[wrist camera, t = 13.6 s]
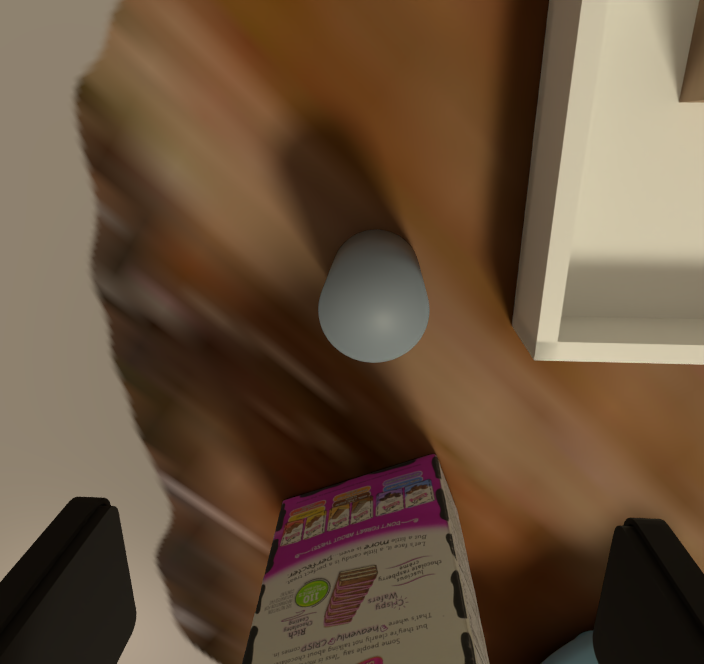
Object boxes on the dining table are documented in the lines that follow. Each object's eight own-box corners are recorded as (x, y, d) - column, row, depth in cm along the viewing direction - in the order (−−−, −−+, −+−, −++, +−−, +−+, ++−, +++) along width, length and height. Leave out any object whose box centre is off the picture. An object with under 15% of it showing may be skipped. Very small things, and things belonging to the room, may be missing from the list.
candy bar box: (310, 553, 38) (261, 836, 23) (281, 497, 37) (207, 762, 21) (462, 509, 36) (519, 789, 21) (437, 449, 35) (480, 702, 19)
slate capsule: (331, 228, 30) (317, 256, 24) (421, 229, 30) (432, 257, 23) (332, 313, 32) (319, 361, 25) (417, 315, 32) (426, 363, 25)
